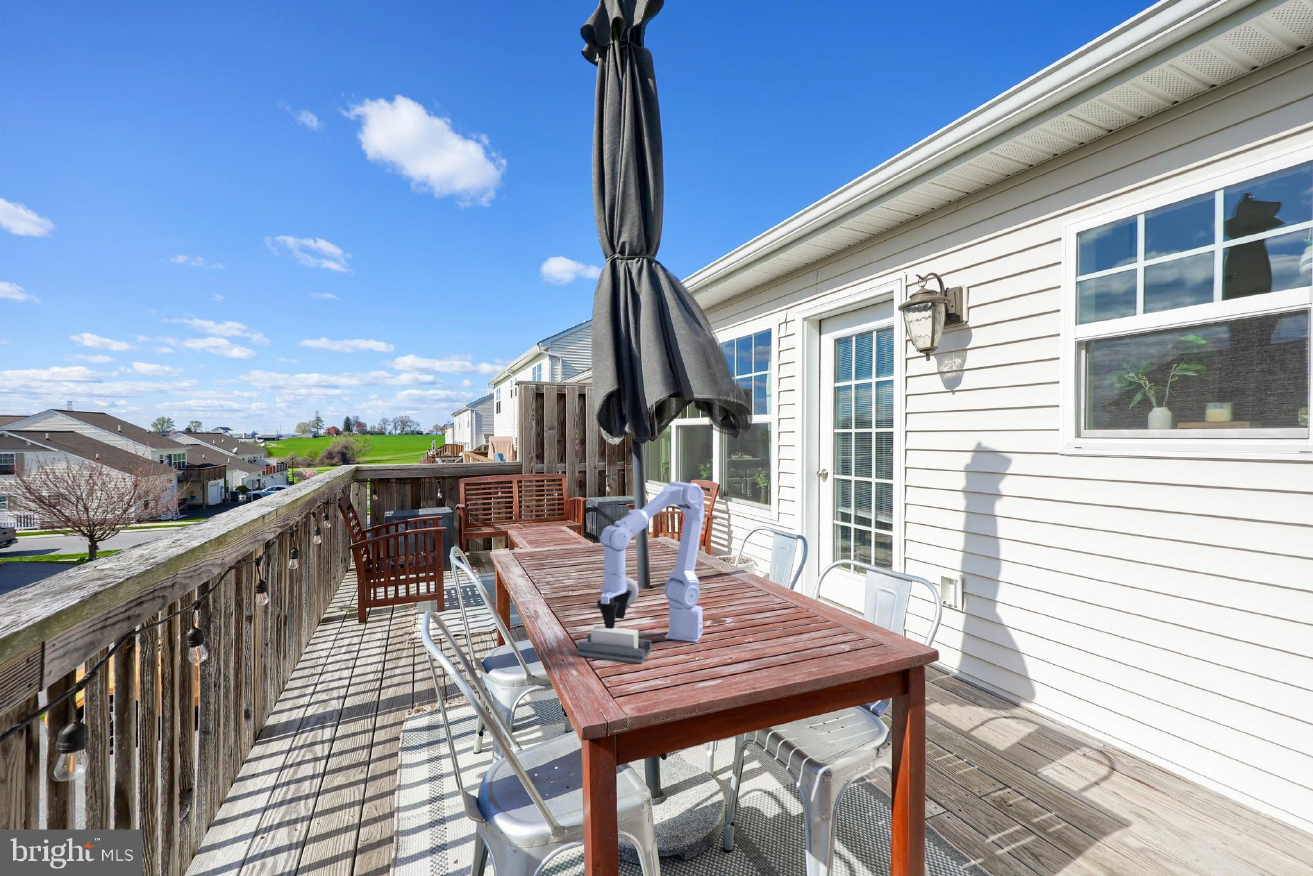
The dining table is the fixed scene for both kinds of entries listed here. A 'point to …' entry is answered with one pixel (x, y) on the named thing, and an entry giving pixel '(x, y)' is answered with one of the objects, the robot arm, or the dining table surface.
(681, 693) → the dining table surface
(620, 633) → the grey metal bar
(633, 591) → the donut
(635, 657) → the grey u-channel tray
